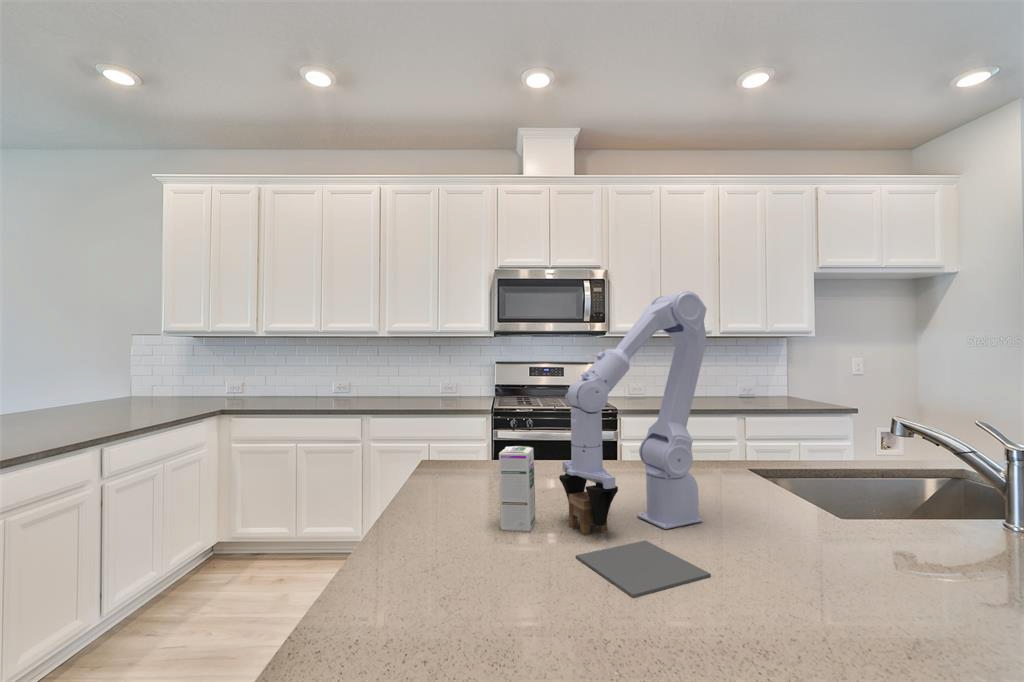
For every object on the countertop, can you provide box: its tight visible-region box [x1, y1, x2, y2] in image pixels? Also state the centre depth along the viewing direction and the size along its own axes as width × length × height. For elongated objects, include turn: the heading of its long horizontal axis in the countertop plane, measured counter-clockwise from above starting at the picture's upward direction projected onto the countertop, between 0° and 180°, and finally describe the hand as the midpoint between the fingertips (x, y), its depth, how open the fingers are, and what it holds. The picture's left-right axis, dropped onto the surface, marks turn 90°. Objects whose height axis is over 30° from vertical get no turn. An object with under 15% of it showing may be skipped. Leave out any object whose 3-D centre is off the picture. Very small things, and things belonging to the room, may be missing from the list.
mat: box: [575, 540, 712, 599], centre depth 73 cm, size 14×14×1 cm
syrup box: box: [498, 445, 536, 533], centre depth 91 cm, size 6×6×14 cm
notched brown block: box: [568, 490, 608, 536], centre depth 89 cm, size 5×5×6 cm
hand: (587, 518), depth 89 cm, fingers open, 7 cm apart
